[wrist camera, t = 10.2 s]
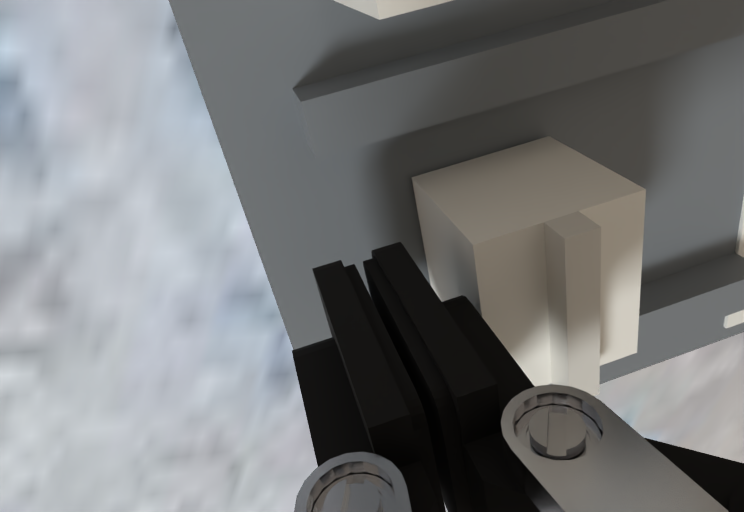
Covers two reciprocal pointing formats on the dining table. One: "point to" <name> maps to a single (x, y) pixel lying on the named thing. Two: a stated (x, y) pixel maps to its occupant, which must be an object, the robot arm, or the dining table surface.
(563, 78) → the switch board
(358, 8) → the tab
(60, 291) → the dining table surface
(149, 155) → the dining table surface
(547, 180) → the tab
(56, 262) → the dining table surface
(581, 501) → the robot arm
